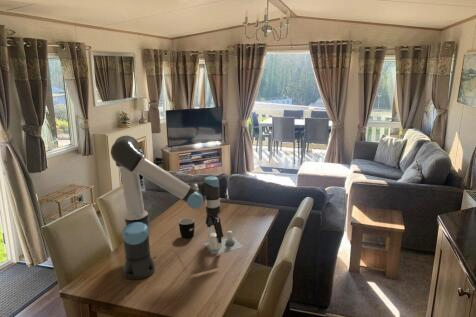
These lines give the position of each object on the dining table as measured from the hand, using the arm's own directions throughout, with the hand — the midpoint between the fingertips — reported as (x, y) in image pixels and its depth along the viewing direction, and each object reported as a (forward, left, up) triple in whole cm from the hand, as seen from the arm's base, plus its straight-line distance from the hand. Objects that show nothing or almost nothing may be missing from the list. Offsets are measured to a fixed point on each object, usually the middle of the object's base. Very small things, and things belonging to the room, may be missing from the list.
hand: (214, 242), depth 195 cm
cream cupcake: (0, 0, -3) cm, 3 cm away
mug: (-8, +22, -4) cm, 24 cm away
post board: (+5, 0, -4) cm, 6 cm away
